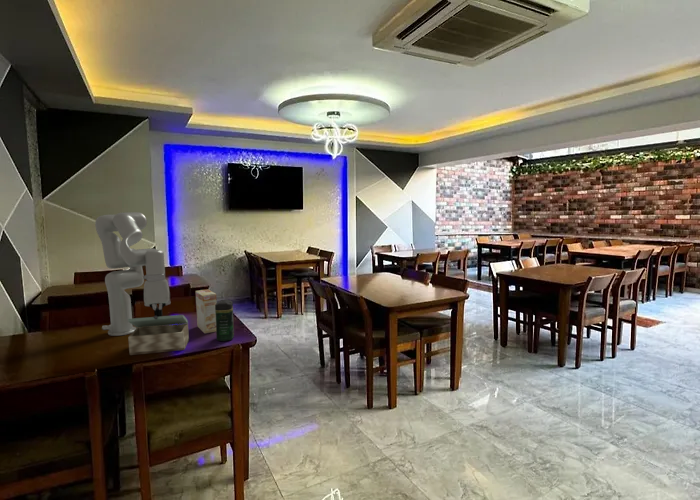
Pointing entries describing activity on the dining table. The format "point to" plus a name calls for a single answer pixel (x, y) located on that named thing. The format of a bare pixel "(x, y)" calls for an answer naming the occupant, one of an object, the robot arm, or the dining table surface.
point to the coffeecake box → (206, 310)
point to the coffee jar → (224, 320)
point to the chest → (158, 339)
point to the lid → (158, 321)
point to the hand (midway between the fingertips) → (158, 317)
